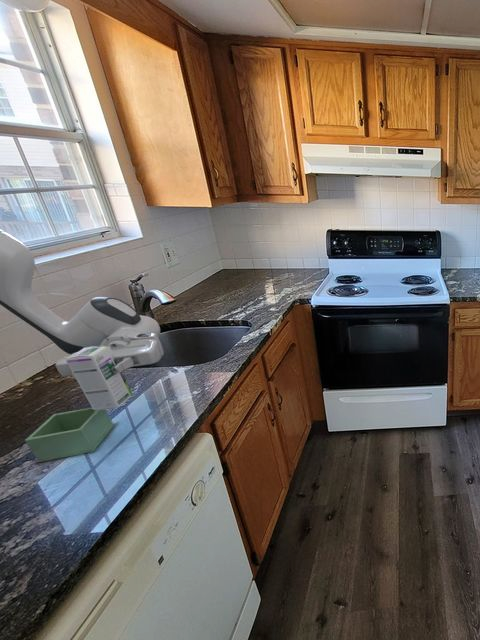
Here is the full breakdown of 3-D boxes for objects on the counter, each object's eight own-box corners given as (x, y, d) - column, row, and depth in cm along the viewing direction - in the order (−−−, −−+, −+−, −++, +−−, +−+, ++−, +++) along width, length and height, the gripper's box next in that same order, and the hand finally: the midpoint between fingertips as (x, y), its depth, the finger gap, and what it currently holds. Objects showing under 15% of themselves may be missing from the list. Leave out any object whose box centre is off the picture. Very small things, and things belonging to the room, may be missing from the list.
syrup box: (119, 408, 88) (92, 355, 82) (92, 411, 87) (63, 357, 81) (134, 395, 93) (110, 344, 87) (108, 397, 93) (83, 346, 86)
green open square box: (93, 451, 89) (81, 429, 86) (38, 462, 86) (24, 440, 83) (114, 425, 98) (103, 405, 95) (65, 434, 95) (53, 414, 92)
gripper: (70, 344, 94) (33, 369, 82) (162, 332, 99) (141, 354, 87) (81, 365, 96) (47, 393, 84) (170, 353, 102) (151, 377, 90)
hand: (96, 373), depth 86 cm, fingers closed on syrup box, 6 cm apart
